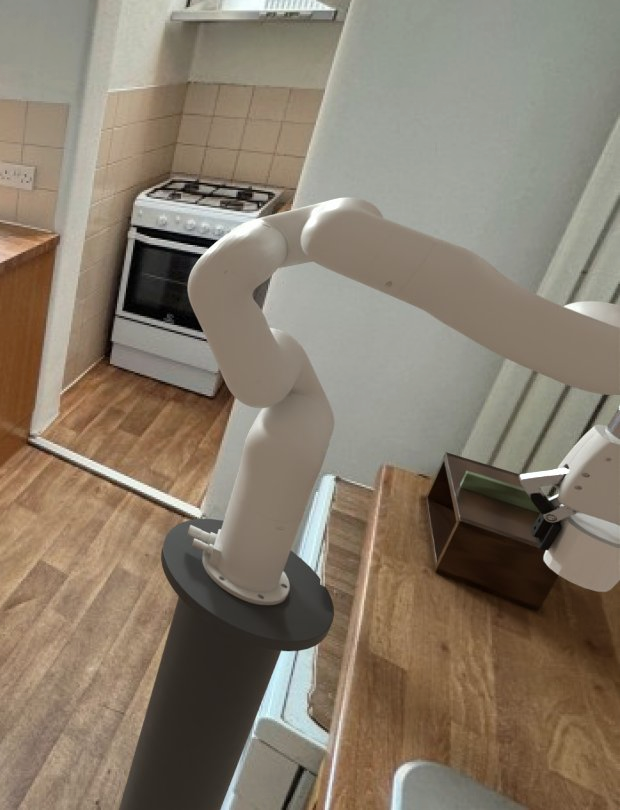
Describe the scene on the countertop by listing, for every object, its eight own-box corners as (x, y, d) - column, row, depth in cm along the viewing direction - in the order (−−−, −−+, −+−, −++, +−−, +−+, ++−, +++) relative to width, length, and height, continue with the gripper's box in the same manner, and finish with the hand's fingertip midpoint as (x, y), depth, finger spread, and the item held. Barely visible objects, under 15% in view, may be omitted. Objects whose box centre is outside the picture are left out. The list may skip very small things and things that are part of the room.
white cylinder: (544, 576, 72) (572, 532, 69) (529, 540, 77) (554, 498, 74) (629, 607, 68) (662, 561, 65) (607, 567, 73) (637, 523, 70)
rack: (435, 572, 99) (467, 505, 94) (424, 498, 115) (451, 438, 110) (538, 612, 92) (578, 542, 87) (511, 528, 108) (544, 465, 103)
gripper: (777, 453, 63) (685, 578, 69) (542, 393, 73) (481, 507, 79) (816, 492, 57) (712, 623, 64) (556, 421, 67) (489, 541, 74)
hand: (585, 558), depth 71 cm, fingers closed on white cylinder, 6 cm apart
